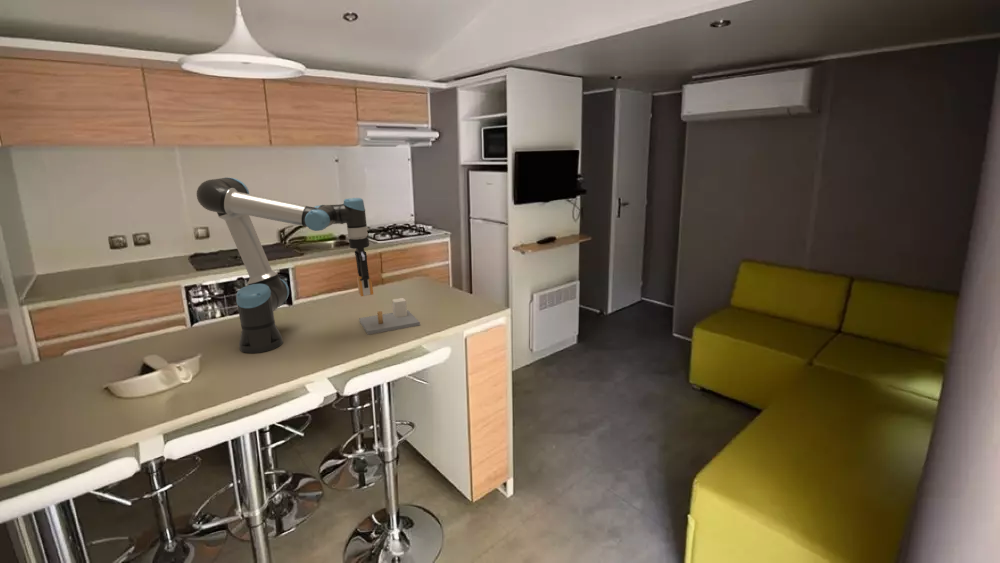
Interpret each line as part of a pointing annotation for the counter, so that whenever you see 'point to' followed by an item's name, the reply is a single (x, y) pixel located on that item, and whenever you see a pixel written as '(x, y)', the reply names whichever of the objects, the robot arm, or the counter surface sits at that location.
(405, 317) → the plate
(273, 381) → the counter surface
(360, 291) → the orange rectangular block
